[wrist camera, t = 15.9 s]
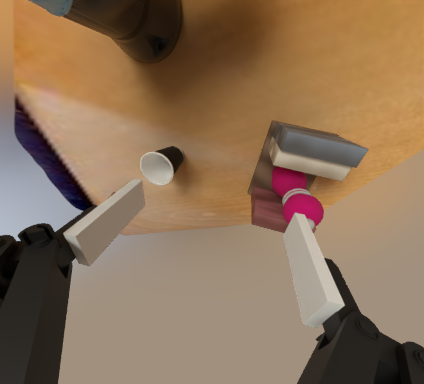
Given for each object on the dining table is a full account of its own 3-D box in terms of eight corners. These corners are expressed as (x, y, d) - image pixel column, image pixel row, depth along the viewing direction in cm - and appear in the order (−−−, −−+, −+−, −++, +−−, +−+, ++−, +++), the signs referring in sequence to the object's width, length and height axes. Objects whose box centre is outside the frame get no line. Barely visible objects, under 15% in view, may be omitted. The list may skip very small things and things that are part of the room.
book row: (272, 120, 37) (282, 130, 25) (336, 134, 36) (377, 151, 24) (247, 191, 47) (247, 222, 35) (297, 204, 46) (313, 241, 34)
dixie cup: (186, 172, 48) (170, 190, 38) (160, 163, 48) (139, 179, 39) (191, 145, 44) (175, 158, 34) (163, 136, 44) (140, 146, 35)
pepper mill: (284, 192, 43) (307, 253, 26) (263, 176, 42) (272, 229, 25) (307, 171, 40) (351, 227, 23) (285, 154, 39) (312, 198, 22)
